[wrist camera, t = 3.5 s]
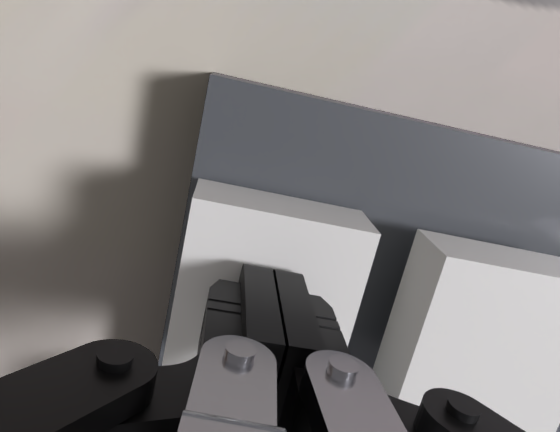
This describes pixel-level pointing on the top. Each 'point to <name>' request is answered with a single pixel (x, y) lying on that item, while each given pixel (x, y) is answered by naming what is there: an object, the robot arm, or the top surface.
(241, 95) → the keypad
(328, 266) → the outer key
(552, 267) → the middle key
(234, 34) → the top surface
